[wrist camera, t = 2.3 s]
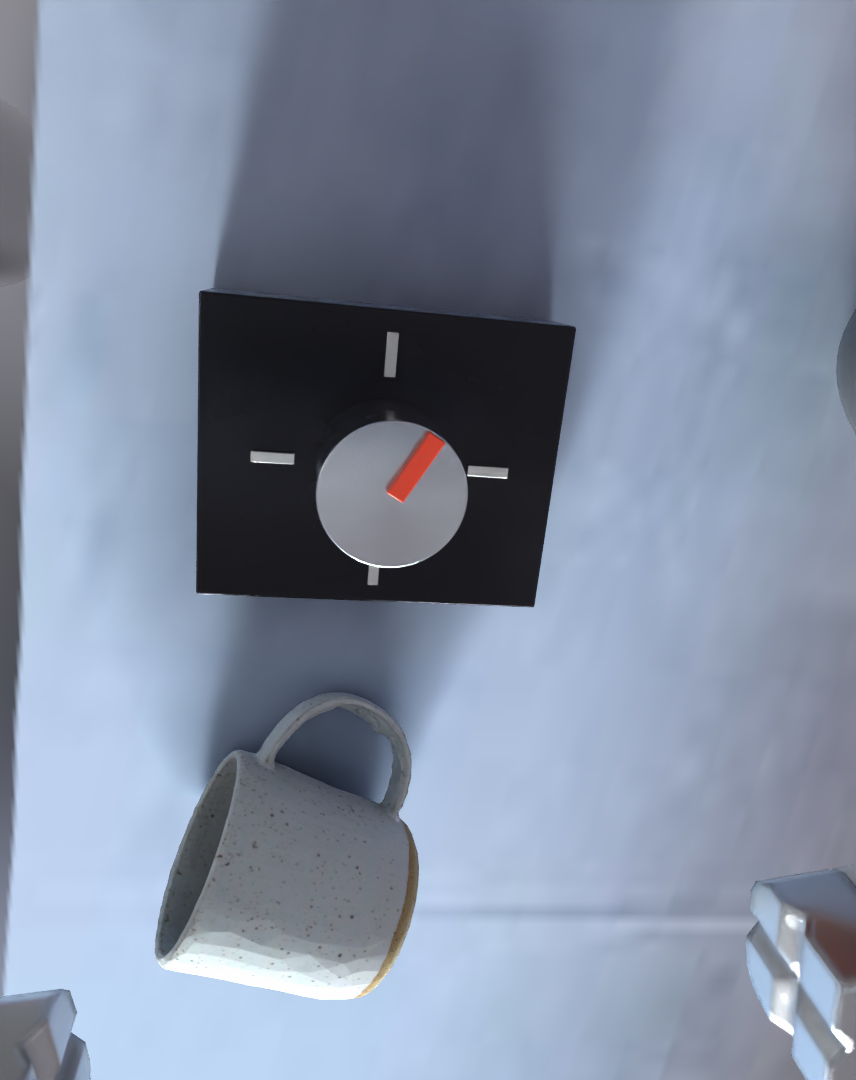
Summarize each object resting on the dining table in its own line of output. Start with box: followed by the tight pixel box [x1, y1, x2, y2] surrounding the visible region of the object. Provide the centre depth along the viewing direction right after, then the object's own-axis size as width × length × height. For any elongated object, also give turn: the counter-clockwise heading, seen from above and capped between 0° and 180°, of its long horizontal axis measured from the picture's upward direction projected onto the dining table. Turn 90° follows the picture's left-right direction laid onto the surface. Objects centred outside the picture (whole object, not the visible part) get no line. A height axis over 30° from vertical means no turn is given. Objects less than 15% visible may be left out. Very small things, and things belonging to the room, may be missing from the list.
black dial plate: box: [196, 288, 576, 607], centre depth 28 cm, size 12×10×3 cm
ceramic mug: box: [155, 692, 419, 1000], centre depth 31 cm, size 11×8×8 cm
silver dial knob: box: [316, 399, 468, 568], centre depth 25 cm, size 4×4×4 cm
